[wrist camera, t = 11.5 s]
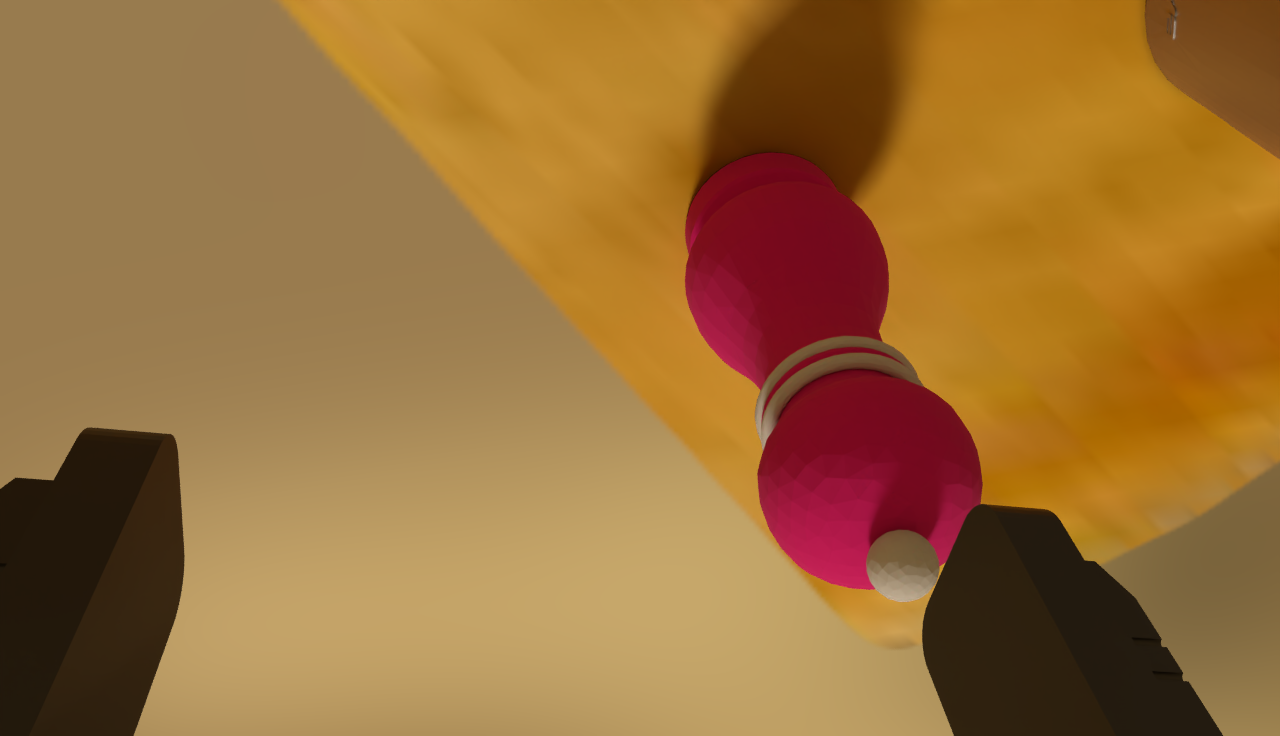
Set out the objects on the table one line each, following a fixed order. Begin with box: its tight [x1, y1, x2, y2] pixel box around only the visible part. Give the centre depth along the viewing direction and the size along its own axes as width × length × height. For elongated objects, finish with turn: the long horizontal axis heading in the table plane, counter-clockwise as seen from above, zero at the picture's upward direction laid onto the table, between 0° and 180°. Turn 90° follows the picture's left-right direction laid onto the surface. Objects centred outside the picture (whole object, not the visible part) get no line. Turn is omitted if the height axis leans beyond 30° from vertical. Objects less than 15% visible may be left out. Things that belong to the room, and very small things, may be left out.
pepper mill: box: [685, 152, 983, 602], centre depth 35 cm, size 7×7×20 cm
